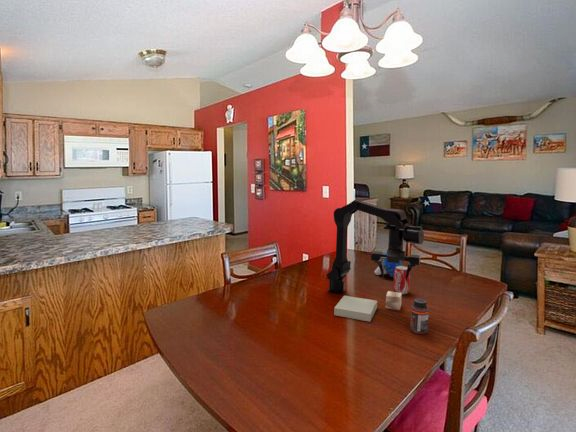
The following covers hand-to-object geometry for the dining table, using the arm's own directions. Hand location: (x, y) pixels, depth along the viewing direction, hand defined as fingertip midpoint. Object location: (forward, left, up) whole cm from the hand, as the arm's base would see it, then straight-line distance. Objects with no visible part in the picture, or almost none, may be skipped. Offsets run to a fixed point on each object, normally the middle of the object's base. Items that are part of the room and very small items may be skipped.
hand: (394, 278), depth 137 cm
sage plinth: (-13, -11, -12) cm, 21 cm away
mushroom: (-8, +40, -13) cm, 43 cm away
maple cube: (0, 0, -12) cm, 12 cm away
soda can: (+1, +18, -13) cm, 22 cm away
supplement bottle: (+11, -18, -13) cm, 25 cm away
